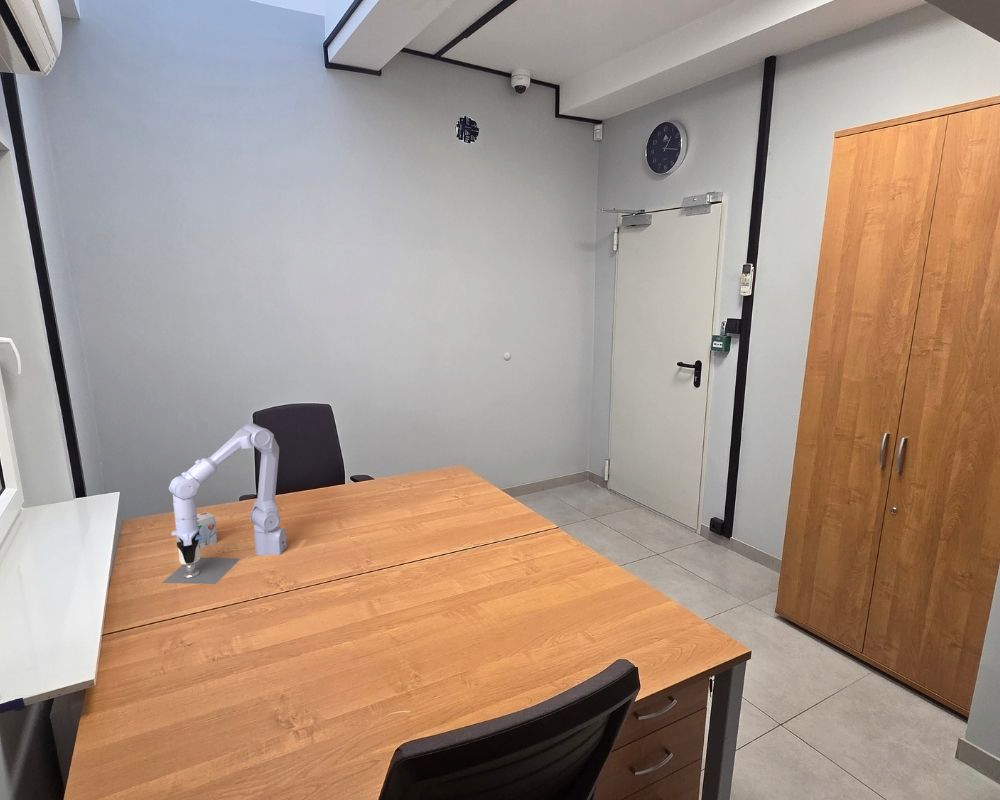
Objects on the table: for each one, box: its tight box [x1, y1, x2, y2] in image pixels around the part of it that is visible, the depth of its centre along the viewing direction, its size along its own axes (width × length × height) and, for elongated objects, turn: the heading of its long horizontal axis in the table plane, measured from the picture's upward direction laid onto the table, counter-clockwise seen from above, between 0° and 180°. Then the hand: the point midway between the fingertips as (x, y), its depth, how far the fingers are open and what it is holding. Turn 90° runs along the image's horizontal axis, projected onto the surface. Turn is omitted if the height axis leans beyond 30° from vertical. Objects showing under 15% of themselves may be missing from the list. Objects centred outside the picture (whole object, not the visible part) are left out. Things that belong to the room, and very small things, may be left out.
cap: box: [177, 545, 201, 565], centre depth 167 cm, size 5×5×4 cm
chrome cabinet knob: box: [183, 563, 199, 578], centre depth 168 cm, size 4×4×4 cm
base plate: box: [161, 557, 242, 585], centre depth 171 cm, size 16×16×1 cm
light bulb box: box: [175, 511, 218, 550], centre depth 187 cm, size 11×7×11 cm, turn 143°
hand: (189, 558), depth 167 cm, fingers closed on cap, 5 cm apart
